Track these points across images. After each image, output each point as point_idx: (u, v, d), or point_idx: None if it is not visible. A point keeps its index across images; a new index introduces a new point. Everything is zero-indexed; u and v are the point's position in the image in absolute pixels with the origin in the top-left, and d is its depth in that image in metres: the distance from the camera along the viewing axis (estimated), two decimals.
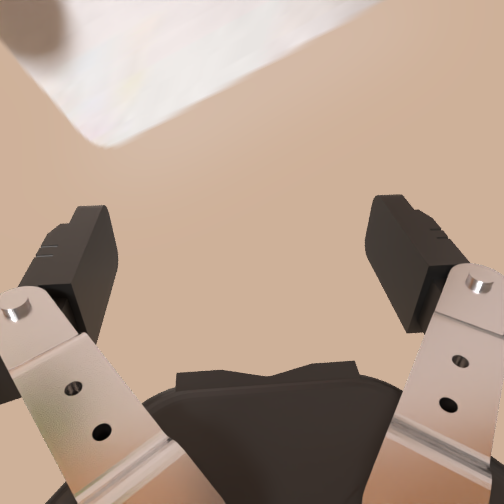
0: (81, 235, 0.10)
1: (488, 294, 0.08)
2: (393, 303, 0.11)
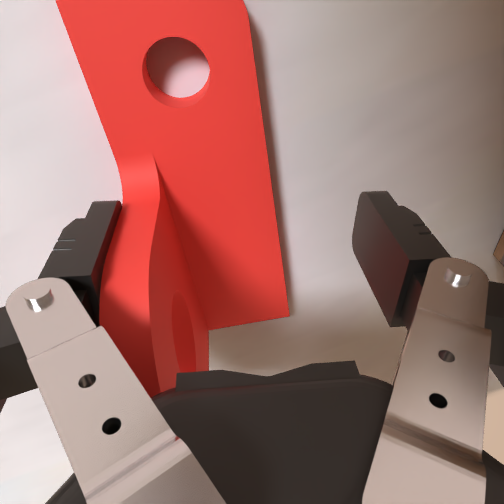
0: (98, 229, 0.10)
1: (465, 287, 0.09)
2: (378, 298, 0.12)
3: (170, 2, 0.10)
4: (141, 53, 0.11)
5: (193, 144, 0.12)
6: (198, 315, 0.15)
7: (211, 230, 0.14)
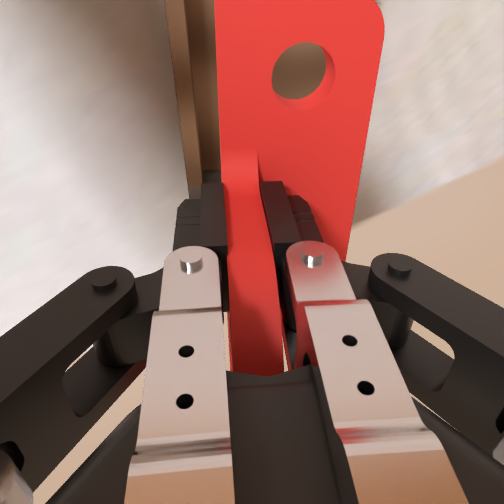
0: (216, 207, 0.11)
1: (313, 267, 0.09)
2: None
3: (319, 10, 0.11)
4: (277, 53, 0.11)
5: (297, 146, 0.13)
6: None
7: None
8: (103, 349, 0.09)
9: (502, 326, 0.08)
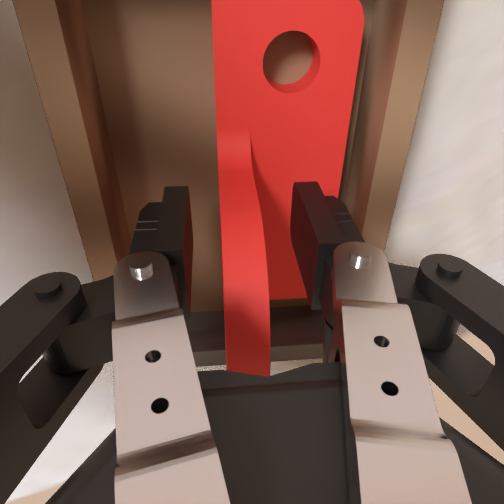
0: (177, 210, 0.11)
1: (363, 268, 0.09)
2: (304, 283, 0.12)
3: (305, 1, 0.12)
4: (268, 40, 0.12)
5: (287, 126, 0.14)
6: None
7: (279, 206, 0.16)
8: (55, 357, 0.09)
9: None
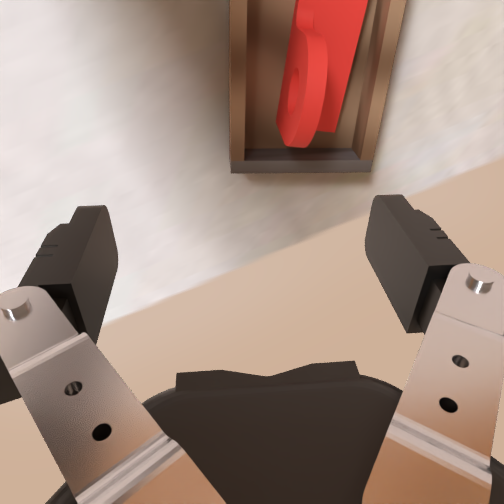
0: (81, 235, 0.10)
1: (488, 294, 0.08)
2: (393, 303, 0.11)
3: None
4: None
5: (333, 11, 0.27)
6: None
7: None
8: None
9: None
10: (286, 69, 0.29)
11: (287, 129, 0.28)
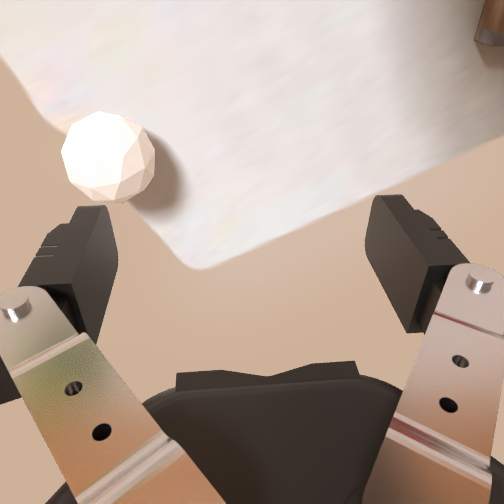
0: (81, 235, 0.10)
1: (488, 294, 0.08)
2: (393, 303, 0.11)
3: None
4: None
5: None
6: None
7: None
8: None
9: None
10: None
11: None
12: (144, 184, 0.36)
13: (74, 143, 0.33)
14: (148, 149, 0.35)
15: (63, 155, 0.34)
